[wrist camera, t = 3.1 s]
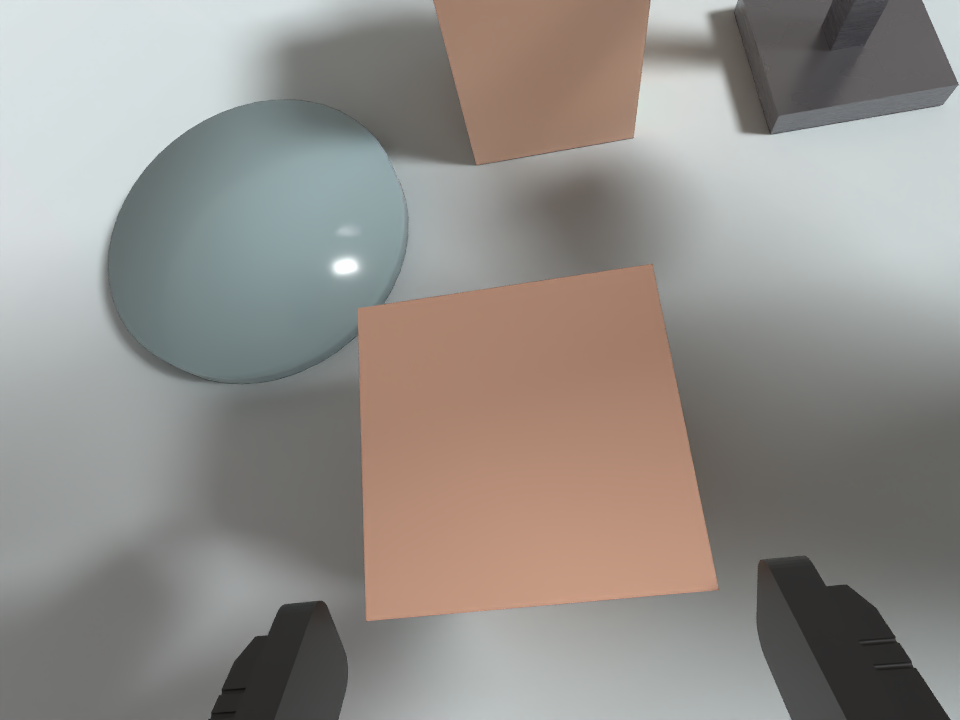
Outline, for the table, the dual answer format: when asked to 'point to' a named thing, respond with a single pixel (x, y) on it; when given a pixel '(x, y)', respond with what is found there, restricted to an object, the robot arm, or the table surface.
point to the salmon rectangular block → (525, 450)
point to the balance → (842, 59)
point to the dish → (258, 241)
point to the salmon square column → (544, 72)
